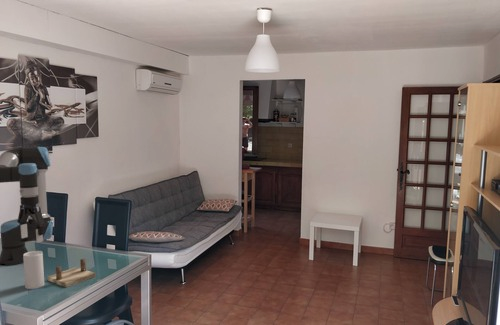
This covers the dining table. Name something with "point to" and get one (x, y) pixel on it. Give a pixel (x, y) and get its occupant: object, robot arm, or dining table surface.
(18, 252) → the robot arm
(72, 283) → the peg board
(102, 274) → the dining table surface
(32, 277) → the cup
